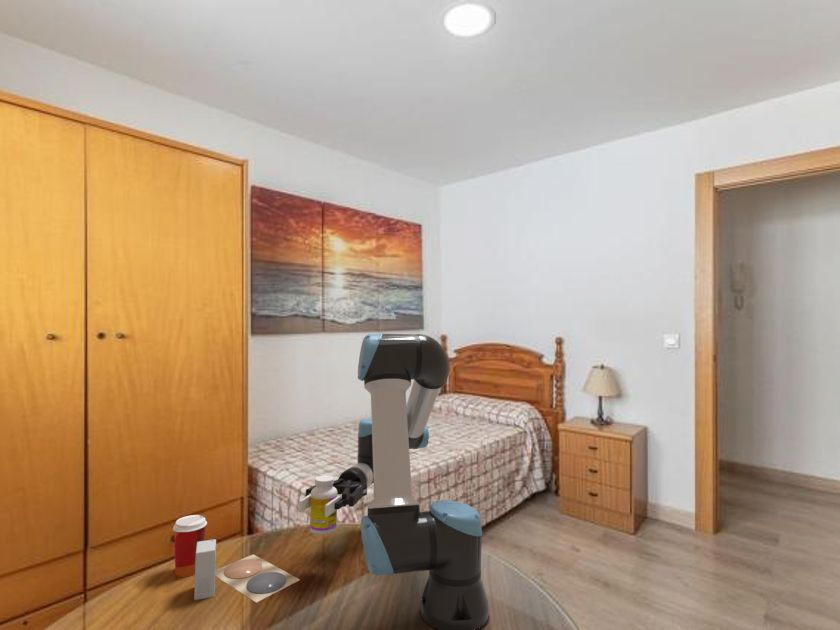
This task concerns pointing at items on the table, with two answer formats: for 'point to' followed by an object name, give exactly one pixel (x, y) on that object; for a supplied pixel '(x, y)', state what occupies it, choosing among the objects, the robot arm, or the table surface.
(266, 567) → the birch board
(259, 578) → the slate pad
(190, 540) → the paper cup
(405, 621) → the table surface
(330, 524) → the supplement bottle
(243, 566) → the terracotta pad
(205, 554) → the skincare box
